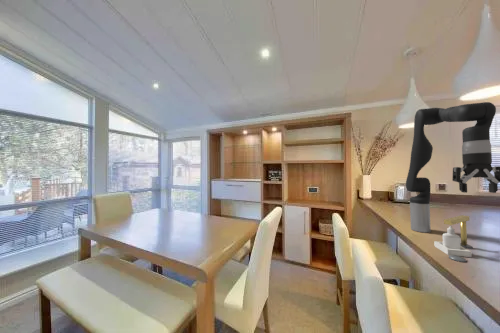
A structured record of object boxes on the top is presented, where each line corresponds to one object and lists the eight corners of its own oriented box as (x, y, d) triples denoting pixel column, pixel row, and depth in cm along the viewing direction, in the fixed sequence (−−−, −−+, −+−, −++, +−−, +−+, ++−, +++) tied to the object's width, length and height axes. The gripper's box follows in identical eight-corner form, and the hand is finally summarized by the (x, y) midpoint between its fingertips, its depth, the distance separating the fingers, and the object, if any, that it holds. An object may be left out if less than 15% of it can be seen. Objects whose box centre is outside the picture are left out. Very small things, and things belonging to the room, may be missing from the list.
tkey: (452, 251, 85) (451, 220, 85) (444, 248, 87) (443, 219, 88) (470, 244, 92) (469, 216, 92) (463, 242, 94) (462, 215, 95)
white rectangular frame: (434, 246, 93) (434, 241, 93) (455, 248, 91) (455, 242, 91) (447, 254, 84) (447, 249, 84) (471, 257, 81) (471, 251, 81)
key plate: (455, 244, 95) (455, 242, 95) (466, 245, 93) (466, 243, 93) (461, 247, 91) (461, 245, 91) (472, 248, 89) (472, 246, 89)
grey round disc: (445, 255, 83) (445, 254, 83) (460, 257, 81) (460, 256, 81) (453, 261, 78) (453, 259, 78) (469, 262, 77) (469, 261, 77)
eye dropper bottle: (459, 254, 84) (458, 228, 84) (442, 250, 88) (441, 225, 89) (461, 252, 86) (460, 226, 87) (444, 248, 91) (443, 223, 91)
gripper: (492, 152, 76) (493, 191, 76) (447, 154, 81) (448, 191, 81) (510, 150, 69) (512, 194, 69) (460, 152, 74) (461, 193, 74)
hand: (478, 192), depth 75 cm, fingers open, 8 cm apart
